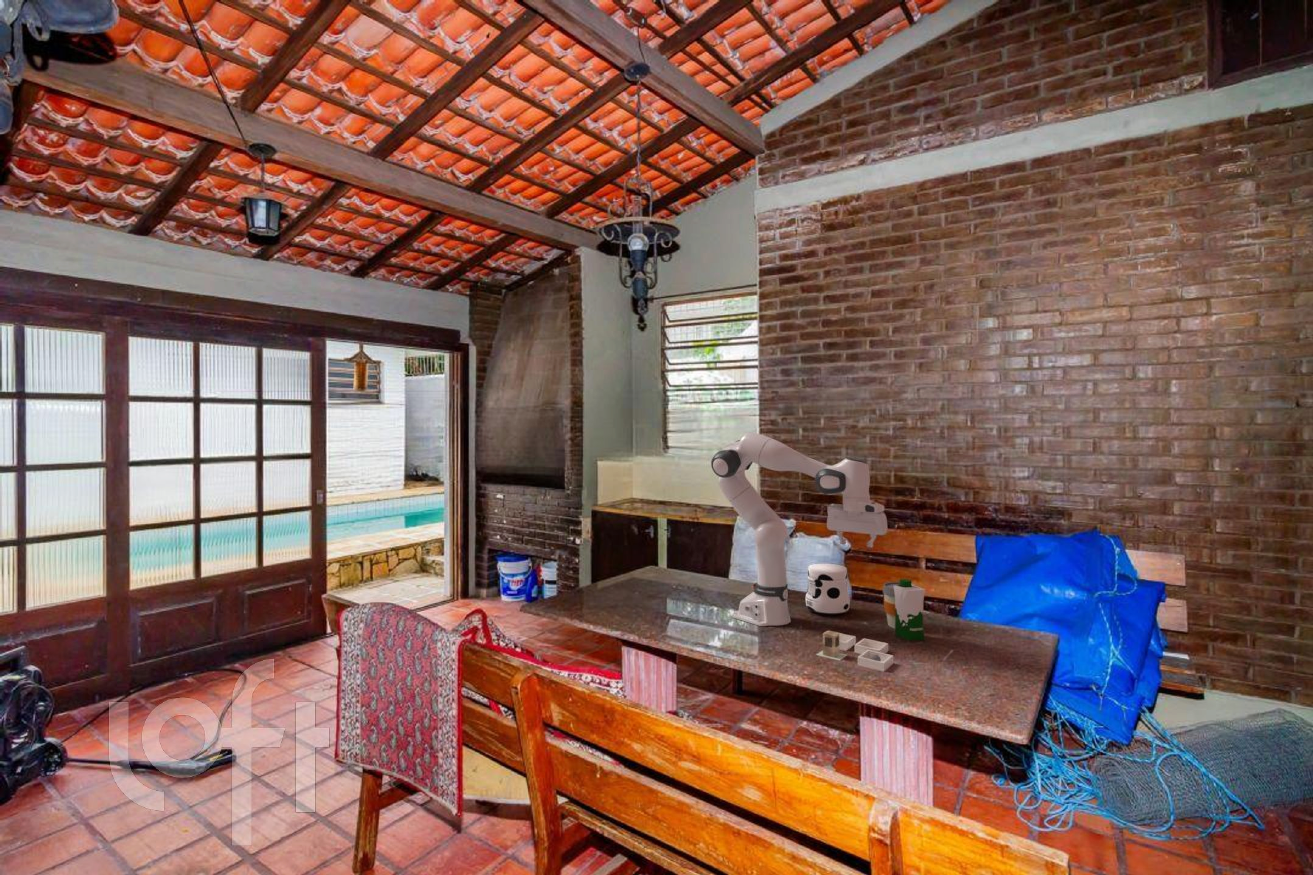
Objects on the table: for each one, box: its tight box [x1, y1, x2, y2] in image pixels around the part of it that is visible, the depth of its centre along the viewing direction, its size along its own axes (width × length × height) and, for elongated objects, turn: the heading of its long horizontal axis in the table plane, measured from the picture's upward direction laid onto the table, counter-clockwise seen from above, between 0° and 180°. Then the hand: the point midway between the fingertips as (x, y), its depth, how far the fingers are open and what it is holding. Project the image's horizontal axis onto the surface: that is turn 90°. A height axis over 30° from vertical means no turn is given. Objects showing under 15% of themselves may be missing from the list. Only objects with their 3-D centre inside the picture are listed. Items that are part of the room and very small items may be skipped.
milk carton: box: [893, 578, 926, 642], centre depth 219 cm, size 9×9×20 cm
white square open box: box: [857, 650, 894, 672], centre depth 194 cm, size 8×8×3 cm
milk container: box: [805, 563, 851, 616], centre depth 252 cm, size 17×17×18 cm
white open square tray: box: [839, 632, 857, 651], centre depth 212 cm, size 8×8×3 cm
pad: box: [815, 649, 848, 661], centre depth 202 cm, size 8×6×1 cm
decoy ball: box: [870, 654, 881, 661], centre depth 194 cm, size 3×3×3 cm
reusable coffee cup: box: [882, 581, 917, 629], centre depth 233 cm, size 13×13×15 cm
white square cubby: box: [854, 637, 889, 655], centre depth 205 cm, size 8×8×3 cm
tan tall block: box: [822, 630, 841, 658], centre depth 202 cm, size 4×4×7 cm
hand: (856, 545), depth 213 cm, fingers open, 8 cm apart
